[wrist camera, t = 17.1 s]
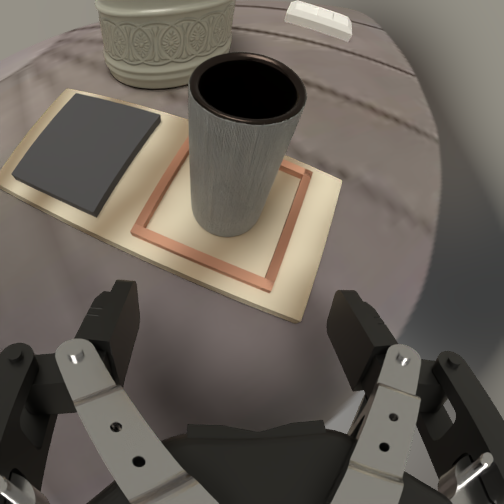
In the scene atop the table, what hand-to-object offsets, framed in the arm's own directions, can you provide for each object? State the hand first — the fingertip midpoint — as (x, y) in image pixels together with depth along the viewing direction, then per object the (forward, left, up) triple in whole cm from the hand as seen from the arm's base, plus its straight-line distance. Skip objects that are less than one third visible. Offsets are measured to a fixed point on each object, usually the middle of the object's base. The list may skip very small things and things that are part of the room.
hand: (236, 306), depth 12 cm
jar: (-16, +22, -7) cm, 28 cm away
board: (-9, +7, -7) cm, 13 cm away
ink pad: (-15, +7, -6) cm, 17 cm away
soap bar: (-3, +40, -8) cm, 41 cm away
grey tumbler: (-3, +7, -6) cm, 10 cm away
